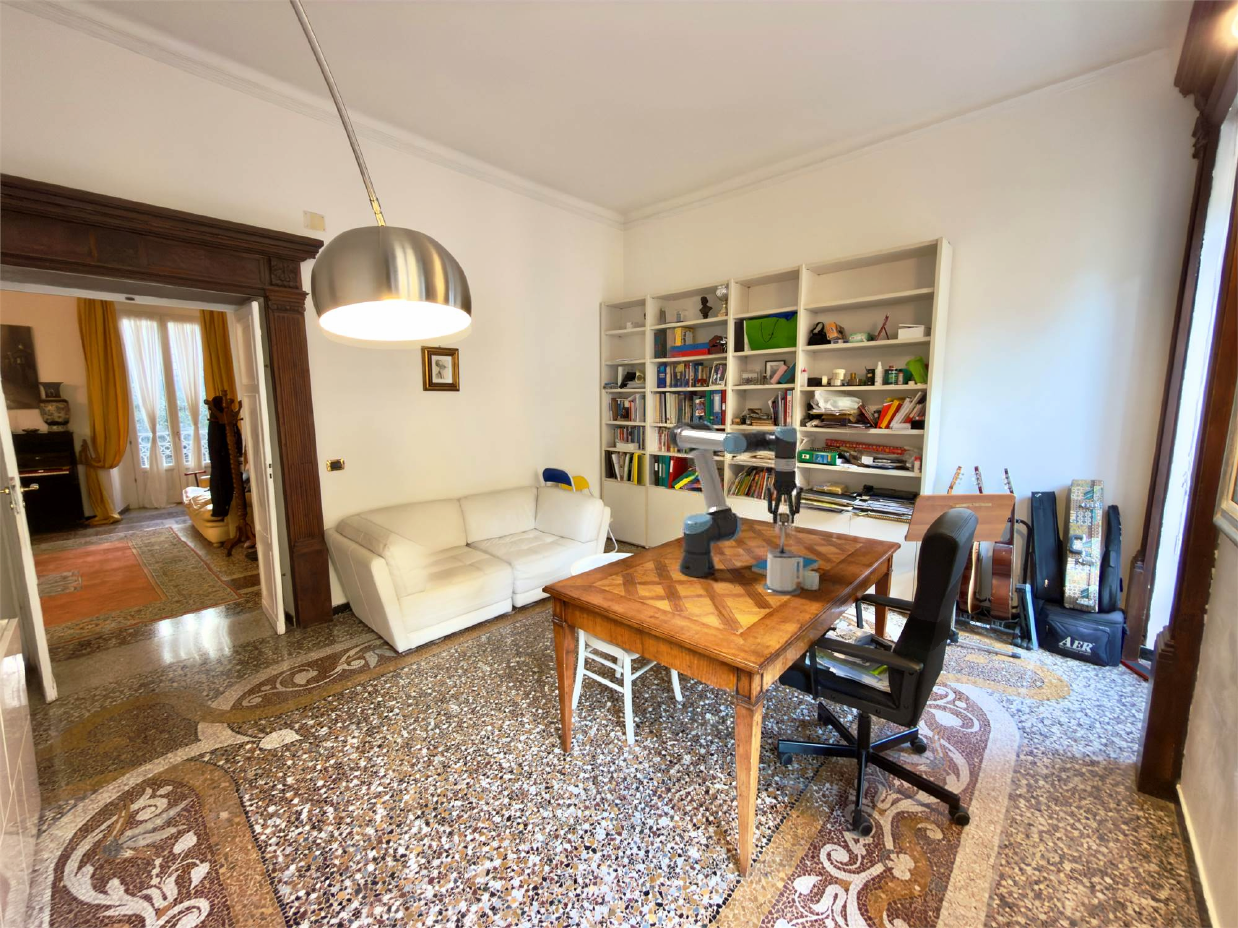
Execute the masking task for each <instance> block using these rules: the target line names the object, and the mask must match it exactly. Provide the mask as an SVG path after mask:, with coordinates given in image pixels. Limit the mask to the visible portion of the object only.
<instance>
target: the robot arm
mask: <svg viewBox="0 0 1238 928" xmlns="http://www.w3.org/2000/svg"><path fill="white" fill-rule="evenodd" d="M667 436H668V437H667V438H668V442H669V444H670V445H671V447H673V448H675V449H679V450H688V454H689V456H691V457H692V458H693V459H694V464H695V468H696V471H697V474H698V475H697V476H698V479H699V483H700V485H701V486H700V487H701V490H702V495H703V499H704V502H705V506H706V511H705V513H695V514H690V515H689V516H686V518H684V521H683V527H682V532H683V553H682V556H681V560H680V561H679V565H678V567H679V568H678V569H679V572H680V573H681V574H683V575H685V576H687V577H692V578H705V577H710V576H713V575H715V573H716V571H717V569H716V568H717V567H716V563H715V559H714V557H713V554H712V550H713V549H712V545H715V544H719V543H724V542H730V541H733V540H735V539H736V538H738V537H739V536H740V534H741V531H742V520H741V518H740V517H739V515H738V514H737V513H736V512H733V510H732V507H731V506H729V504H727V501H726V497H725V493H724V491H723V486H722V483H721V479H720V476H719V472H718V468H717V464H716V460H715V457H714V453H713V452H714V451H717V452H725V453H726V454H729V455H741V454H747V453H759V452H769V453H774V464H773V465H774V466H773V468H774V469H775V470H774V471H773V482H772V485H770V486H765V487H764V488H765V491H766V493H767V495H766V497H767V498H766V499H767V512H768V513H769V514H770V515H772V523H773V524H774V525H775V526H774V527H775V529H774V532H775V533H777V534H779V533H780V525H781V524H780V516H779V515H778V513H779V512H780V511H779V510H780V506H781V501H782V498H783V496H786V500H787V506H788V507H787V508H788V512H789V513H788V514H789V521H788V523H786V532H787V533H788V534H792V525H794V524H795V516H796V515H798V514H799V515H800V513H801V502H802V493H803V491H804V489H805V488H804V487H802V486H799V485H797V483H796V480H797V479H796V478H797V472H796V469H797V451H798V449H797V448H798V430H797V428H796V427H792V426H777V427H776V428H775V429H774V431H766V430H754V431H750V432H730V431H717V430H716V428H715V426H713V424H712V423H709V422H708V421H693V422H692V421H691V422H679V423H676V424H673V426H672V427H671V428H670V429H669V431H668V435H667ZM774 491H775V492H776V494H775V500H774V503H773V492H774ZM794 491H795V499H794V500H795V501H794V500H793V492H794Z"/></svg>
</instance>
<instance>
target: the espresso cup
mask: <svg viewBox="0 0 1238 928" xmlns="http://www.w3.org/2000/svg"><path fill="white" fill-rule="evenodd" d="M819 578H820V574H819V573H818V572H817V571H813V570H810V571H803V573H802V582H800V584H801V585H800V586H801V588H803V589H805V590H809V591H816V590H819V581H820V579H819Z"/></svg>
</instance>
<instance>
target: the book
mask: <svg viewBox="0 0 1238 928" xmlns="http://www.w3.org/2000/svg"><path fill="white" fill-rule="evenodd" d="M796 555H797V558H803V571H813V570H817V569H818V568H819V559H815V558H811V557H807V556H804V555H803V556H802V555H799V554H796ZM750 571H751V572H754V573H757V574H760V575H764V576H767V558H765V559H763V560H760V561H758V562H756V563H753V564H751V567H750ZM798 577H799V561H797V578H798Z"/></svg>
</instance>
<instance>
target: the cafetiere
mask: <svg viewBox="0 0 1238 928" xmlns="http://www.w3.org/2000/svg"><path fill="white" fill-rule="evenodd" d="M767 550H768V551H767V558H766V559H767V575H766V582H767V588H768V589H769V590H771V591H774V592H777V593H792V592H794V591H796V585H797V583H802V573H803V558H797V555H798V554H797V553H795V552H794V551H793V550H792V549H788V548H787V549H785V548H784V554H781V548H773V549H772V548H770V549H767ZM797 561H799V576H798V577H797Z"/></svg>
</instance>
